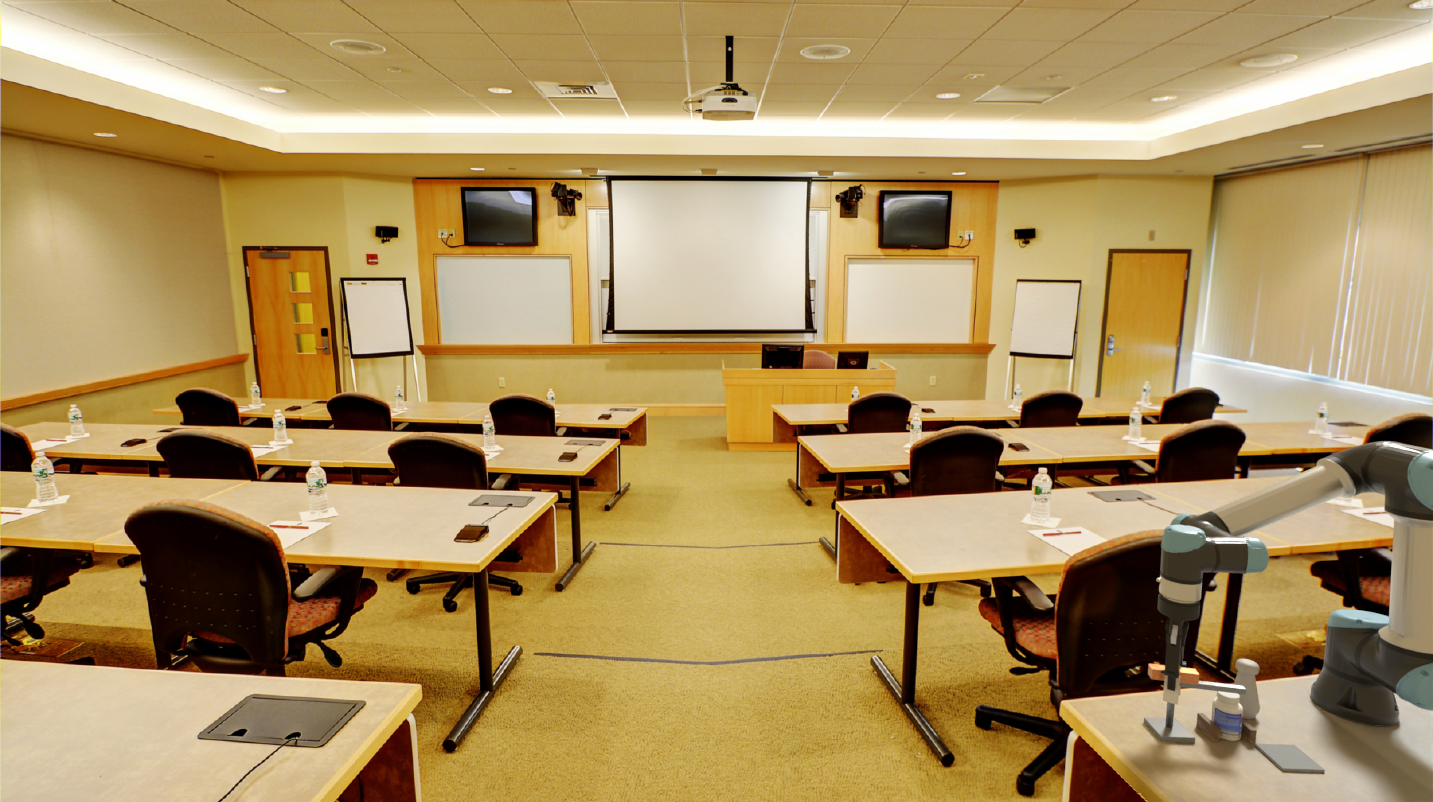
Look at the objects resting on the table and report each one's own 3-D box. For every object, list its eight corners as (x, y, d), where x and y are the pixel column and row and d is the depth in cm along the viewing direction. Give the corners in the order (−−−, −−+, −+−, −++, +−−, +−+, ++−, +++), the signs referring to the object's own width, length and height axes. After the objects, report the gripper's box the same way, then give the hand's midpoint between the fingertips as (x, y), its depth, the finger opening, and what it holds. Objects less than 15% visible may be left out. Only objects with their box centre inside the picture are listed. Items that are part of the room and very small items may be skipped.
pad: (1294, 747, 145) (1294, 744, 145) (1324, 772, 137) (1324, 769, 137) (1254, 745, 146) (1255, 743, 145) (1282, 770, 138) (1283, 768, 138)
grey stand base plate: (1175, 723, 154) (1176, 718, 154) (1194, 742, 147) (1195, 737, 147) (1143, 722, 154) (1144, 717, 154) (1161, 741, 148) (1161, 736, 147)
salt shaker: (1257, 711, 158) (1262, 659, 156) (1260, 724, 153) (1266, 670, 151) (1226, 703, 161) (1230, 652, 159) (1228, 716, 156) (1233, 663, 154)
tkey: (1237, 732, 148) (1243, 674, 146) (1242, 738, 146) (1248, 679, 144) (1144, 719, 153) (1148, 663, 151) (1147, 725, 151) (1152, 668, 149)
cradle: (1236, 726, 152) (1237, 713, 152) (1255, 743, 146) (1256, 730, 146) (1196, 724, 153) (1197, 712, 153) (1213, 741, 147) (1214, 728, 147)
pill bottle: (1246, 742, 147) (1250, 701, 145) (1218, 740, 148) (1221, 698, 146) (1232, 727, 152) (1236, 687, 151) (1205, 725, 153) (1208, 685, 152)
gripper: (1163, 580, 155) (1156, 675, 158) (1153, 605, 142) (1146, 708, 145) (1203, 588, 151) (1195, 686, 154) (1196, 615, 138) (1188, 721, 141)
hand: (1171, 696), depth 150 cm, fingers closed on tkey, 4 cm apart
